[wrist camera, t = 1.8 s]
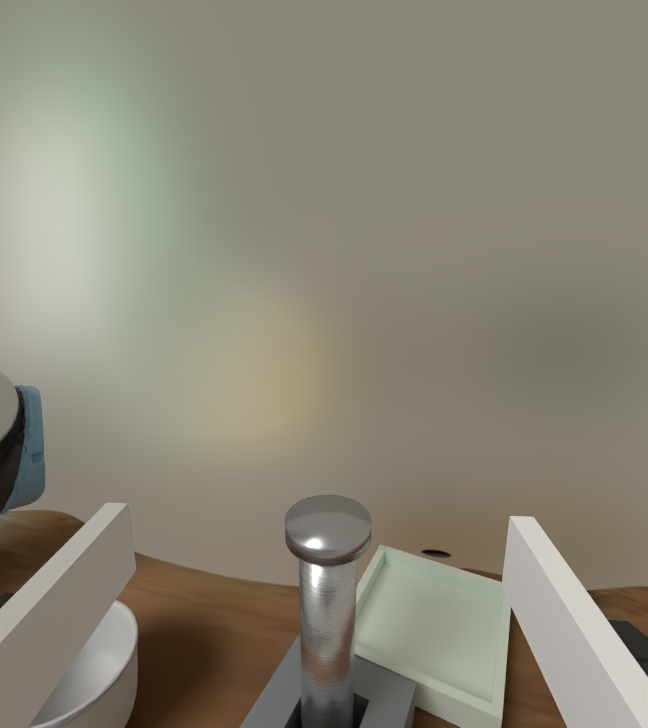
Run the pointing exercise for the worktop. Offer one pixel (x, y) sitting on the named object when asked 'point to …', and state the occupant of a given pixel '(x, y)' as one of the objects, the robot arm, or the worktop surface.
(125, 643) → the teacup
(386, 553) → the tray
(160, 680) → the worktop surface
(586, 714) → the robot arm
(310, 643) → the pin
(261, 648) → the worktop surface
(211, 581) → the worktop surface
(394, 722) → the socket block
